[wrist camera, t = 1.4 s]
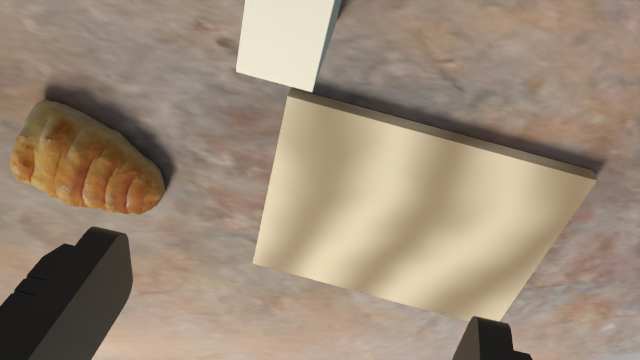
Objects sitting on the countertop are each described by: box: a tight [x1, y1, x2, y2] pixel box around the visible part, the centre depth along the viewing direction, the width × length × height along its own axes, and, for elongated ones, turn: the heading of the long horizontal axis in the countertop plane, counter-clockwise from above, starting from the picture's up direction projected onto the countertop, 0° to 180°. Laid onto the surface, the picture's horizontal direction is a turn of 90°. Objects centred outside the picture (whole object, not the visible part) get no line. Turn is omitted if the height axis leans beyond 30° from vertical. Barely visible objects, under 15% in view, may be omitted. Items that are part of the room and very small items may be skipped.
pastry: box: [10, 100, 165, 214], centre depth 35 cm, size 9×7×4 cm
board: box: [253, 88, 597, 322], centre depth 35 cm, size 18×14×1 cm
